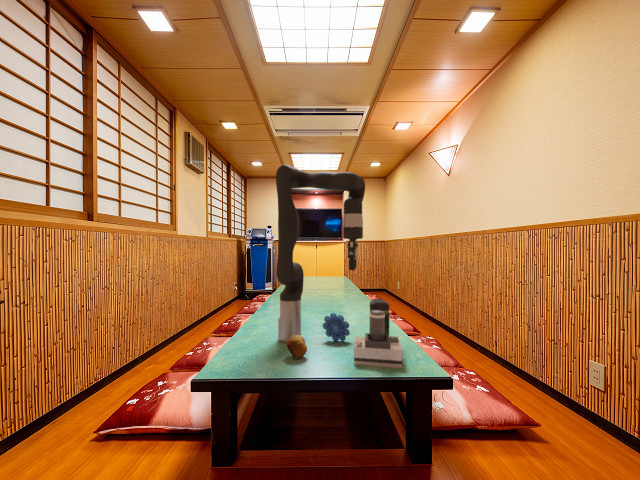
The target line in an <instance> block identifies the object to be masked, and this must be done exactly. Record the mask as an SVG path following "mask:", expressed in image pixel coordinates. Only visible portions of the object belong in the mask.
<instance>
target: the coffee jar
mask: <svg viewBox="0 0 640 480" xmlns="http://www.w3.org/2000/svg"><path fill="white" fill-rule="evenodd" d="M373 310H380V311H383V312H384V314H385V317H384V334H388V335H389V336H390V304H389V302H388V301H386V300H384V299H383V298H373V299H371V300H370V301H369V313H370V312H371V311H373Z"/></svg>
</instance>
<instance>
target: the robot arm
mask: <svg viewBox="0 0 640 480" xmlns="http://www.w3.org/2000/svg"><path fill="white" fill-rule="evenodd" d="M275 185H276V193H277V215H278V216H277V218H278V219H277V231H278V232H277V234H278V236H277V238H278V241H277V243H278V245H277V263H276V278H277V281H278V283H279V284H280V285H283V286H284V288H283V290H282V291H281V292H280V294H279V317H278V321H277V323H278V327H277V328H278V329H277V331H278V335H277V339H278V341H281V342H284V343H286V342H287V341H288V340H289V339H290V338H291V337H292V336H294V335H300V336H302V294H303V292H304V291H303V290H304V279H305V278H304V269H303V267H302V265H301V264H300V263H298V262H294V249H295V246H296V243H297V241H298V238H299V235H300V216H299V212H298V210H297V208H296V206H295V203H294V199H293V194H292V189H304V188H311V189H312V188H313V189H314V188H315V189H320V190H324V191H325V190H329V191H345V192H347V193H348V196H347V199H345V200H344V201H343V218H342V238H343V239H344V240H348V241H347V244H346V245H347V246H346V247H347V258H348V270H349V271H355V270H356V268H357V263H358V262H357V261H358V260H357V258H358V254H359V243H358V241H357V240H362V239H363V238H364V220H363V201H364V196H365V192H366V182H365V179H364V177H363V176H361V175H360V174H357V173H354V172H351V171H342V172H341V171H340V172H333V171H318V172H317V171H316V172H307V171H304V170H301V169H298V168H296V167H294V166H291V165H288V164H281V165H280V166H279V167H278V168H277V170H276V173H275Z"/></svg>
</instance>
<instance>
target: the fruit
mask: <svg viewBox="0 0 640 480" xmlns="http://www.w3.org/2000/svg"><path fill="white" fill-rule="evenodd" d="M285 345H286V348H287V349H288V351H289V353H290V355H291V356H293V358H294V359H297V360H298V359H300V358H303V357H304V356H305V355H306V354H307V352H308V345H307V344H306V339H305V338H304V336H302V335H301V336H300V335H294V336H292V337H291V338H290V339H289V340H288V341H287V342H285Z"/></svg>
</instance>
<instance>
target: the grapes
mask: <svg viewBox="0 0 640 480" xmlns="http://www.w3.org/2000/svg"><path fill="white" fill-rule="evenodd" d="M323 318H324V322H323V323H322V328H323V330H325V335H326V337H328V338H330V337H331V339H332V341H334V342H338V341H339V340H340V341H341V342H344V341H346V338H347V337H348V336H350V335H351V334H350V333H351V332H350V329H349V328H350V323H349V322H348V321H347V320H345V318H344V316H343V315H341V314H338V315H337V314H336V313H335V312H331V313H330V314H329V315H326V316H324V317H323Z"/></svg>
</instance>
